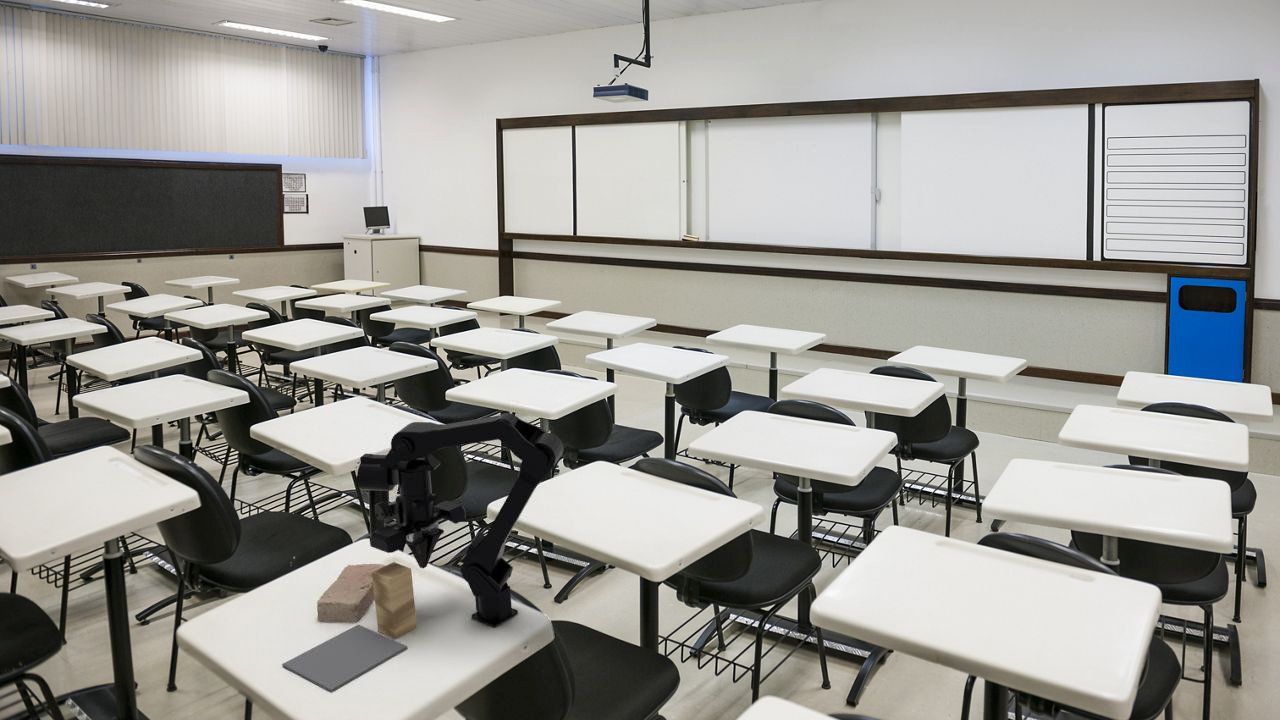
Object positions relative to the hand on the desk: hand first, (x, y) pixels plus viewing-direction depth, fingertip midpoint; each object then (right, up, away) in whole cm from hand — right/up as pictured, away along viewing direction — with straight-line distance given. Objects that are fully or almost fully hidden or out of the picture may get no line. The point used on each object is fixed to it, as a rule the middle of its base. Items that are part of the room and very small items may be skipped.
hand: (423, 567), depth 174 cm
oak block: (-4, -11, -3) cm, 12 cm away
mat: (-11, -13, -12) cm, 21 cm away
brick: (-16, -9, +8) cm, 20 cm away
